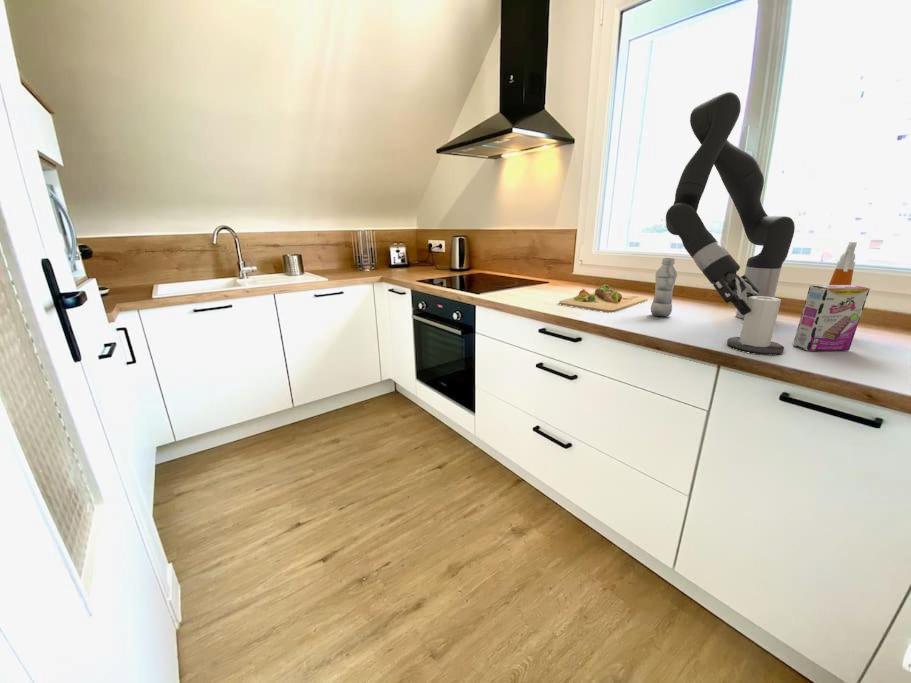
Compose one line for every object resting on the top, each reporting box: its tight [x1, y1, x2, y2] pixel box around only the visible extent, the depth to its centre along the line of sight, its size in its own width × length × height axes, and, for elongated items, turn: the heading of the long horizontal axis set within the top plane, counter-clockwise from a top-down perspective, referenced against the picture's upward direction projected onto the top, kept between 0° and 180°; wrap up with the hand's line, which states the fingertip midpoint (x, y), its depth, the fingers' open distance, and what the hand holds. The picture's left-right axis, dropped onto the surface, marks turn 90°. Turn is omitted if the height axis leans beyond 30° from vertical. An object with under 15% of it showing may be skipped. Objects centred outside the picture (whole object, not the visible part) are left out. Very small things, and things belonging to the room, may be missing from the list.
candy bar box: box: [792, 284, 871, 352], centre depth 97 cm, size 11×5×16 cm, turn 92°
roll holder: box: [726, 336, 785, 356], centre depth 100 cm, size 12×12×9 cm
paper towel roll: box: [739, 296, 782, 347], centre depth 99 cm, size 6×6×12 cm
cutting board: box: [558, 284, 649, 314], centre depth 159 cm, size 35×23×8 cm
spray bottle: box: [828, 241, 857, 285], centre depth 108 cm, size 7×11×26 cm, turn 137°
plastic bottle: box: [650, 257, 678, 317], centre depth 133 cm, size 6×7×20 cm
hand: (754, 311), depth 99 cm, fingers open, 8 cm apart
